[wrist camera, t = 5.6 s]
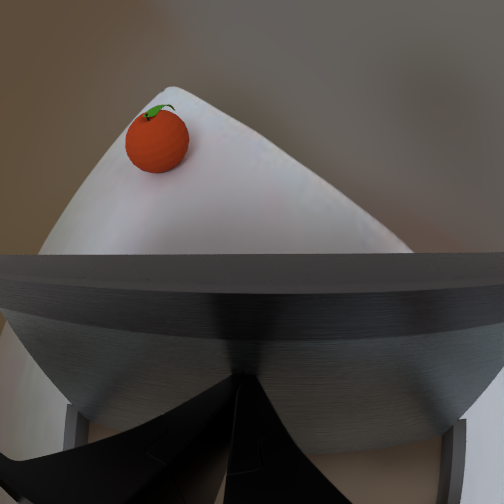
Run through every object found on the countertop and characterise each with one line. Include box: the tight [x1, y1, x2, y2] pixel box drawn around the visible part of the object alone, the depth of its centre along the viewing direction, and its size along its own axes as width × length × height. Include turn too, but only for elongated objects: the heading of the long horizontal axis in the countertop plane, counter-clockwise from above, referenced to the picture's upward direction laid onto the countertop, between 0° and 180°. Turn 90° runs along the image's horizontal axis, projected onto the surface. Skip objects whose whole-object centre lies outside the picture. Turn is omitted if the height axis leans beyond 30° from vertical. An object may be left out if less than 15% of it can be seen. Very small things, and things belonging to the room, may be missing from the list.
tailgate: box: [0, 252, 504, 455], centre depth 10 cm, size 2×22×12 cm, turn 86°
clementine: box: [125, 105, 189, 173], centre depth 29 cm, size 8×7×7 cm
